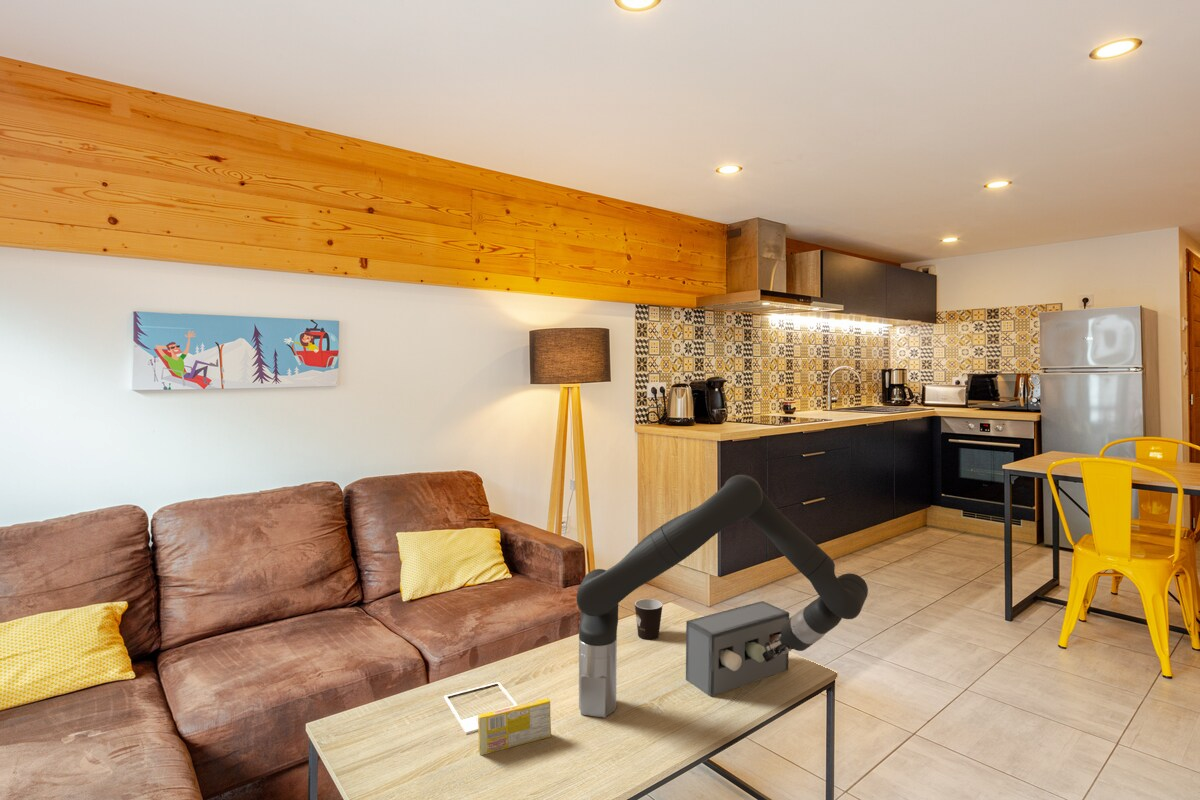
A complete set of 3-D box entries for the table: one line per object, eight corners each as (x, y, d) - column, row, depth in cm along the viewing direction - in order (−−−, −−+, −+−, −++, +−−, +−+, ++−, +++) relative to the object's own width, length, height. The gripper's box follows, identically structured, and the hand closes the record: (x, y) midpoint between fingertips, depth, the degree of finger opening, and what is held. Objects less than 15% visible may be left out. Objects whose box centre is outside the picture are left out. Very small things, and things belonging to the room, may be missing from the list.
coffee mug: (663, 641, 190) (663, 609, 189) (635, 641, 190) (635, 609, 189) (660, 625, 201) (660, 595, 201) (633, 625, 202) (633, 595, 201)
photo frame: (465, 731, 141) (443, 695, 157) (465, 736, 142) (443, 699, 157) (525, 714, 149) (498, 681, 164) (525, 718, 149) (498, 685, 164)
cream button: (741, 668, 158) (741, 653, 158) (729, 672, 156) (729, 657, 156) (722, 657, 164) (722, 642, 164) (711, 661, 162) (711, 646, 162)
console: (788, 669, 172) (789, 612, 172) (710, 696, 158) (711, 634, 157) (761, 655, 181) (762, 601, 180) (685, 679, 167) (686, 621, 166)
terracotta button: (791, 652, 168) (791, 637, 167) (780, 655, 166) (780, 640, 165) (771, 642, 174) (771, 628, 173) (761, 645, 172) (761, 631, 171)
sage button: (766, 660, 163) (767, 645, 163) (755, 663, 161) (756, 648, 161) (747, 649, 169) (747, 635, 169) (736, 653, 167) (736, 638, 167)
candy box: (548, 732, 143) (548, 697, 142) (551, 737, 141) (551, 701, 140) (477, 750, 136) (477, 713, 135) (480, 756, 134) (480, 718, 133)
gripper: (815, 608, 155) (776, 638, 166) (777, 618, 148) (739, 649, 159) (832, 637, 151) (791, 665, 162) (794, 649, 144) (754, 678, 155)
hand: (766, 657), depth 160 cm, fingers closed
